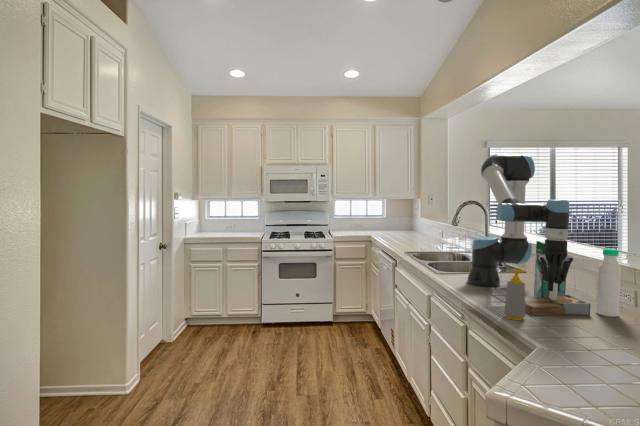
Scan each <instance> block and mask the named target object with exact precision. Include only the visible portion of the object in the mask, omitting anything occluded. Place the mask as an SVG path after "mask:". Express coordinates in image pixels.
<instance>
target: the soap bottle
mask: <svg viewBox="0 0 640 426" xmlns="http://www.w3.org/2000/svg"><path fill="white" fill-rule="evenodd" d="M511 270H512V271H514V272H513V274H514V276H512V278H510V280H509V281H507V282H506V291H505V301H504V311H503V312H504V313H503V314H504V315H505V317H506V319H509V320H513V321H522V320H524V318H525V317H526V311H525V297H526V289H525V288H526V287H525V285H526V284H525V282H522V280H521V278H520V276H519V273H527V270H521V269H516V268H511Z"/></svg>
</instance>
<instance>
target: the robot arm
mask: <svg viewBox="0 0 640 426" xmlns="http://www.w3.org/2000/svg"><path fill="white" fill-rule="evenodd" d="M535 167H536V165H535V161H534V159H533V158H532V156H530V155H528V154H523V153H522V154H521V153H518V154H517V153H515V154H514V153H512V154H511V153H510V154H508V153H507V154H504V153H503V154H501V153H500V154H499V153H498V154H493V155H491V156H489V157H488V158H486V160H484V162H483V163H482V165H481V169H480V173H481V176H482V179H483V181H485V182H487V184H488V186H489V189H491V192H492V194H493V196H494V198H495V200H496V203H497V207H496V217H497V219H498V221H501V222H504V232H503V234H502V235H501V236H500V239H499V238H498V237H497V236H481V237H475V238H474V239H473V241H472V247H471V249H472V251H471V268H470V271H469V272H468V276H467V283H468V284H470V285H473V286H479V287H488V288H489V287H491V288H492V287H500V285H501V279H500V275H499V272H498V264H514V265H523V264H526V263H528V262H529V260H530V258H531V256H532V251H533V246H532V243H531V241H530V240H528V237H527V235H526V234H525V222H527V223H545V231H544V233H545V234H544V238H545V239H544V243H545V251H544V254H543V255H542V256H538V257H537V259H538V260H539V262H540V266H541V272H542V277H543V280H545V281H547V282H548V290H549V291H550V292H549V298H550V299H552V300H557V291H559V288H560V284H561V283H562V282H565V280H566V281H567V276H568V273H569V270H570V266H571V264H572V262H574V258H573V257H572V256H571V257H570V255H568V240H567V239H569V238H568V236H569V235H568V234H569V220H570V217H569V216H570V201H569V200H567V199H548V200H547V202H546V203H526V188H527V187H526V185H527V184H529V183H530V179H532V178H534V175H535V172H536V171H535V170H536V168H535ZM566 250H567V252H566ZM546 259H547V261H548V269H547V264H546ZM563 260H564V262H563ZM562 262H563V266H562ZM561 267H562V269H561Z"/></svg>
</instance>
